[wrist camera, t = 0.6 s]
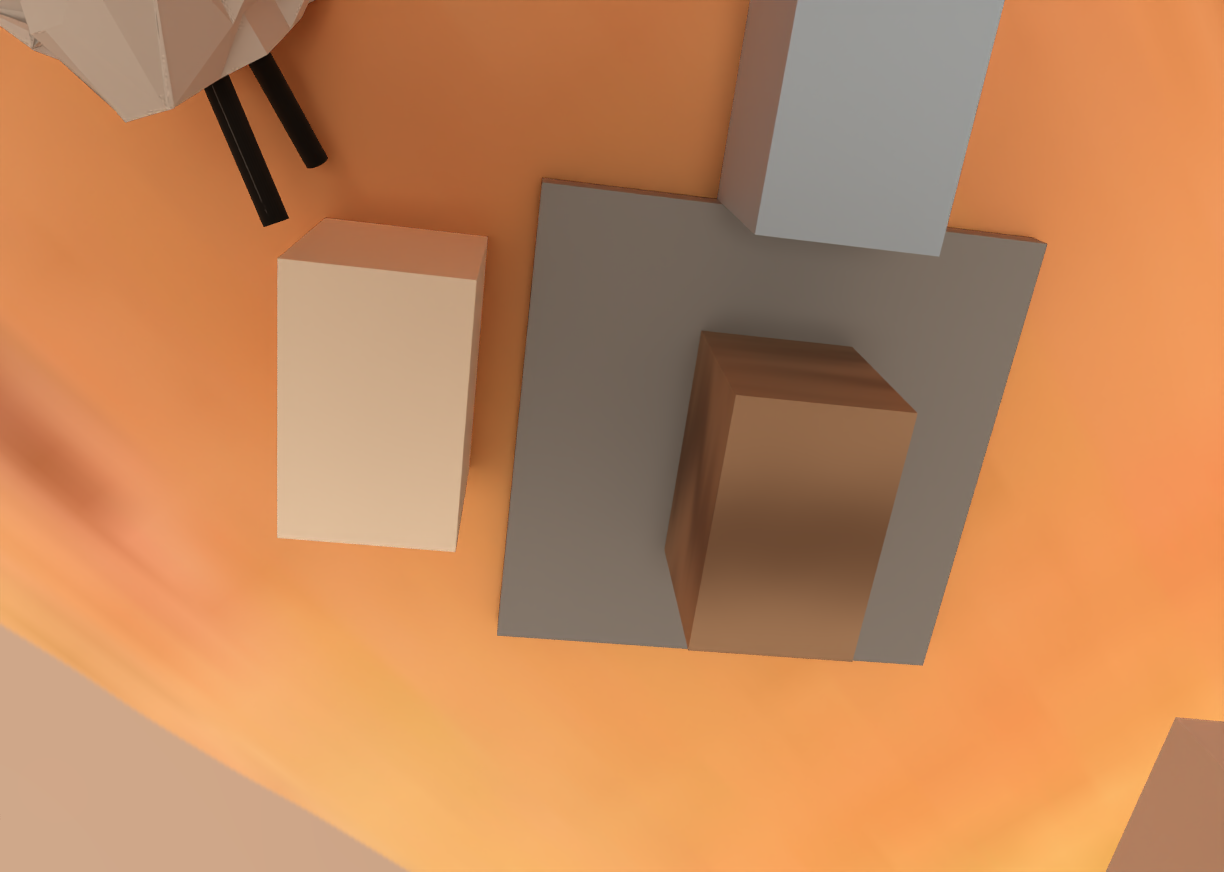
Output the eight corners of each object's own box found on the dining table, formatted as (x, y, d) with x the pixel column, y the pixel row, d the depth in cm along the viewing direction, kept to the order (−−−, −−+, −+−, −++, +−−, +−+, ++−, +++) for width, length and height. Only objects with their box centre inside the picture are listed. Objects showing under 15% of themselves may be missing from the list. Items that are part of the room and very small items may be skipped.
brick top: (763, -86, 28) (818, -116, 22) (931, -60, 28) (1025, -82, 23) (716, 198, 31) (754, 234, 25) (869, 216, 31) (939, 256, 26)
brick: (325, 217, 30) (277, 258, 25) (488, 236, 31) (476, 280, 25) (321, 453, 33) (277, 537, 28) (469, 467, 34) (455, 552, 28)
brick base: (701, 330, 31) (736, 395, 26) (851, 346, 32) (917, 413, 26) (664, 550, 34) (688, 650, 29) (802, 561, 35) (852, 661, 29)
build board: (542, 177, 30) (542, 182, 29) (1032, 237, 32) (1047, 243, 31) (498, 619, 36) (497, 635, 35) (913, 649, 38) (922, 665, 37)
